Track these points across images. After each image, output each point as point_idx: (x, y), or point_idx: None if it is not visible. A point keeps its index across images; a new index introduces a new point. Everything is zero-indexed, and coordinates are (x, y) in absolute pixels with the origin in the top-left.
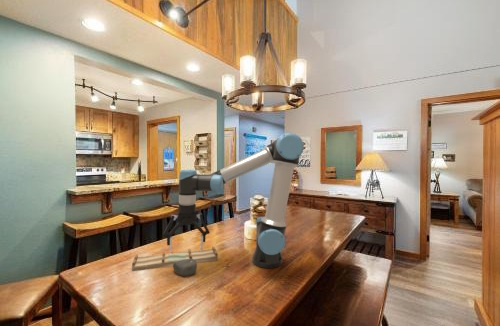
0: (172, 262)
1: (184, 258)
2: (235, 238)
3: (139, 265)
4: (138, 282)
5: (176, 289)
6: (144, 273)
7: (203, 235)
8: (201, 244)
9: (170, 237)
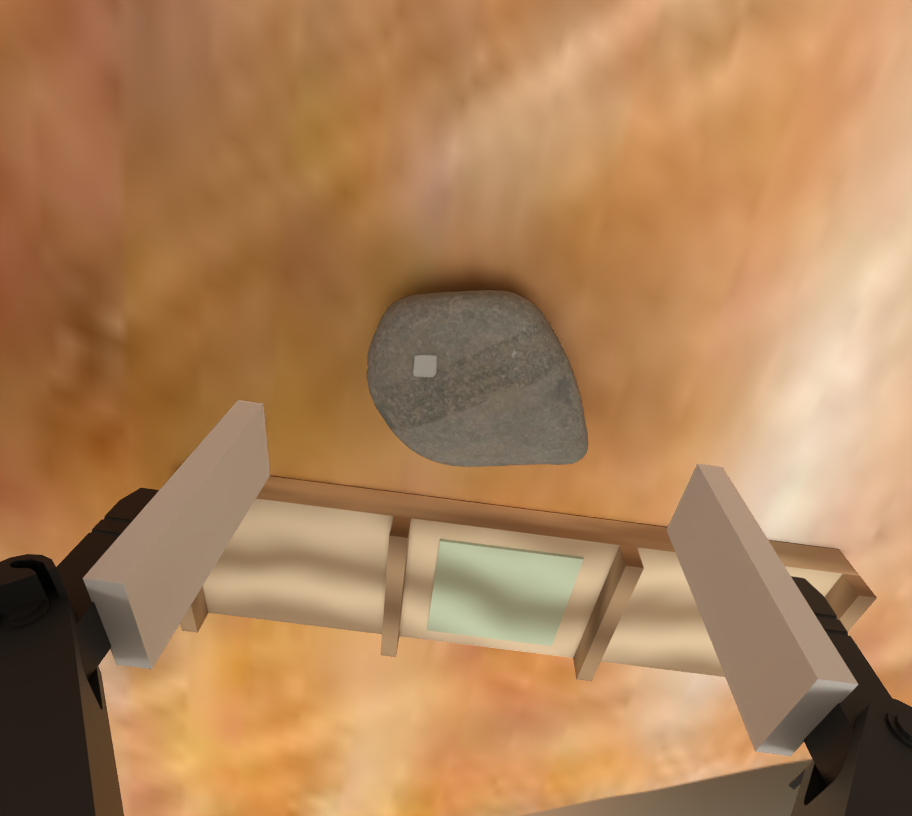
0: (554, 533)
1: (449, 551)
2: None
3: (803, 575)
4: (883, 362)
5: (644, 53)
6: (778, 484)
7: (58, 581)
8: (216, 457)
9: (807, 725)
